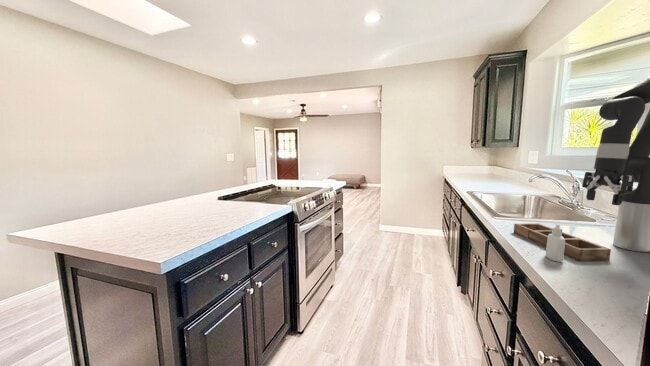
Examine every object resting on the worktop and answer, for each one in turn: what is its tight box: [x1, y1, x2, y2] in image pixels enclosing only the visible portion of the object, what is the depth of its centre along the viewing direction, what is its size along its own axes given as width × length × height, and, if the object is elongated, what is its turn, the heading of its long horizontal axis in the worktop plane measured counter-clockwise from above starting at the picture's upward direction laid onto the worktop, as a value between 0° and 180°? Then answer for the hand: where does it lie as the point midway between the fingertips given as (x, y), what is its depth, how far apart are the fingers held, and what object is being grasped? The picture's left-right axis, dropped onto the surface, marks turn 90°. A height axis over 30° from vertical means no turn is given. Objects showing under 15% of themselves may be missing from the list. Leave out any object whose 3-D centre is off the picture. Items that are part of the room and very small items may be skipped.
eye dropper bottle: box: [545, 223, 565, 263], centre depth 86 cm, size 4×6×12 cm
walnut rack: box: [513, 222, 612, 262], centre depth 99 cm, size 11×29×4 cm, turn 1°
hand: (602, 202), depth 92 cm, fingers open, 8 cm apart
